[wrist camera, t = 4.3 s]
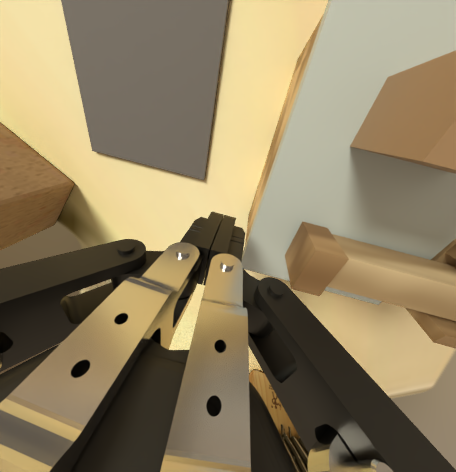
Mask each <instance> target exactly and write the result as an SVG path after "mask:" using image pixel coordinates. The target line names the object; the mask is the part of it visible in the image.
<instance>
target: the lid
mask: <svg viewBox="0 0 456 472" xmlns="http://www.w3.org/2000/svg"><path fill="white" fill-rule="evenodd" d="M302 221H303V222H307V223H311V224H314V225H318V226H322V227H326V228H328V229H329V231H330V232H331V234H334V235H338V236H342V237H346V238H350V239H353V240H357V241H361V242H365V243H369V244H372V245H376V246H380V247H384V248H387V249H391V250H395V251H399V252H403V253H406V254H410V255H414V256H418V257H422V258H425V259H429V260H431V259H432V258H433V257H435V256H436V255H437V254H438V253H439V252H440V251H442V250H443V249H444V248H445V247H446V246H447V245H449V244H450V243H451V242H452V241H453V240H454V239H456V0H328V3H327V6H326V9H325V12H324V15H323V18H322V21H321V24H320V27H319V30H318V33H317V35H316V38H315V41H314V44H313V47H312V50H311V53H310V56H309V59H308V62H307V65H306V68H305V71H304V74H303V77H302V80H301V83H300V86H299V89H298V91H297V94H296V97H295V100H294V103H293V106H292V109H291V112H290V115H289V118H288V121H287V124H286V127H285V130H284V133H283V136H282V139H281V142H280V145H279V148H278V150H277V153H276V156H275V159H274V162H273V165H272V168H271V171H270V174H269V177H268V180H267V183H266V186H265V189H264V192H263V195H262V198H261V201H260V204H259V206H258V209H257V212H256V215H255V218H254V221H253V224H252V227H251V230H250V233H249V236H248V239H247V242H246V245H245V248H244V251H243V254H242V265H243V269H246V270H250V271H254V272H257V273H261V274H265V275H269V276H272V277H276V278H280V279H284V280H287V281H290V279H289V274H288V269H287V264H286V259H285V254H286V252H287V250H288V248H289V246H290V244H291V242H292V240H293V238H294V236H295V235H296V233H297V231H298V229H299V227H300V225H301V223H302ZM325 291H328V292H332V293H336V294H340V295H343V296H347V297H351V298H354V299H358V300H362V301H366V302H369V303H373V304H377V305H379V304H380V303H381V302H382V301H379V300H375V299H371V298H368V297H364V296H360V295H356V294H353V293H349V292H345V291H342V290H338V289H334V288H330V287H326V288H325Z"/></svg>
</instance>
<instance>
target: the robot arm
mask: <svg viewBox="0 0 456 472" xmlns="http://www.w3.org/2000/svg"><path fill="white" fill-rule="evenodd" d="M235 220H236V218H234V217H230V216H226V215H224V217H223V214H219V213H215V212H211V214H210V216H209V217H208V219H207V218H203V217H200V218H198V219H196V220H195V221H194V223H193V224H192V226H191V227H190V228H189V230H188V231H187V233H186V234H185V236H184V237H183V238H182V240H181V241H180V242H179V243H175V244H172V245H170V246H169V247H168V248H167V249H166V250H165V251H146V247H145V245H144V244H143V243H142V242H140V241H138V240H133V239H124V240H119V241H115V242H111V243H107V244H102V245H98V246H94V247H90V248H86V249H82V250H77V251H73V252H69V253H65V254H61V255H57V256H53V257H48V258H44V259H40V260H36V261H32V262H28V263H23V264H20V265H15V266H11V267H6V268H3V269H0V372H1V371H3V370H5V369H7V368H9V367H11V366H13V365H15V364H17V363H19V362H21V361H23V360H26V359H28V358H30V357H32V356H34V355H36V354H38V353H40V352H42V351H44V350H46V349H48V348H50V347H52V346H54V345H56V344H58V343H60V342H62V341H63V342H62V343H61V344H59V345H57V346H55V347H53V348H51V349H49V350H47V351H45V352H43V353H41V354H39V355H37V356H35V357H33V358H31V359H30V360H28V361H26V362H24V363H22V364H20V365H18V366H16V367H14V368H12V369H10V370H8V371H6V372H4V373H2V374H0V472H298V471H297V469H296V467H295V465H294V463H293V461H292V459H291V457H290V455H289V452H288V450H287V448H286V446H285V444H284V442H283V440H282V438H281V436H280V433H279V431H278V429H277V427H276V425H275V423H274V421H273V419H272V417H271V414H270V412H269V410H268V408H267V406H266V404H265V402H264V401H263V399H262V397H261V396H260V394H259V392H258V391H257V390H256V388H255V387H254V386H253V384H252V383H251V382H250V381H249V355H248V345H249V347H250V349H251V350H252V352H253V354H254V356H255V357H256V359H257V361H258V363H259V365H260V366H261V368H262V370H263V372H264V374H265V375H266V377H267V379H268V381H269V383H270V384H271V386H272V388H273V390H274V392H275V393H276V395H277V397H278V399H279V401H280V402H281V404H282V406H283V408H284V410H285V411H286V413H287V415H288V417H289V419H290V420H291V422H292V424H293V426H294V427H295V429H296V431H297V433H298V435H299V436H300V438H301V440H302V442H303V444H304V445H305V447H306V449H307V451H308V453H309V456H308V472H456V470H455V469H454V468H453V467H452V466H451V464H450V463H449V462H448V461H447V460H446V459H445V458H444V457H443V456H442V455H441V453H440V452H439V451H437V449H436V448H435V447H434V446H433V445H432V444H431V443H430V441H429V440H428V439H427V438H426V437H425V436H424V435H423V434H422V433H421V432H420V431H419V430H418V428H417V427H416V426H415V425H414V424H413V423H412V422H411V421H410V420H409V419H408V418H407V416H406V415H405V414H404V413H403V412H402V411H401V410H400V409H399V408H398V407H397V405H395V403H394V402H393V401H392V400H391V399H390V398H389V397H388V396H387V395H386V393H385V392H384V391H383V390H382V389H381V388H380V387H379V386H378V385H377V384H376V383H375V381H374V380H373V379H372V378H371V377H370V376H369V375H368V374H367V373H366V372H365V371H364V369H363V368H362V367H361V366H360V365H359V364H358V363H357V362H356V361H355V360H354V358H353V357H352V356H351V355H350V354H349V353H348V352H347V351H346V350H345V349H344V348H343V346H342V345H341V344H340V343H339V342H338V341H337V340H336V339H335V338H334V337H333V336H332V334H331V333H330V332H329V331H328V330H327V329H326V328H325V327H324V326H323V325H322V324H321V322H320V321H319V320H318V319H317V318H316V317H315V316H314V315H313V314H312V313H311V312H310V310H309V309H308V308H307V307H306V306H305V305H304V304H303V303H302V302H301V301H300V300H299V298H298V297H297V296H296V295H295V294H294V293H293V292H292V291H291V290H290V289H289V288H288V286H287V285H286V284H284V283H283V282H281V281H280V280H278V279H275V278H270V277H268V278H264V279H262V280H261V281H259V280H257V279H255V278H254V277H252V276H250V275H249V274H248V273H247V272H246V271H245V270H244V269H243V265H242V254H243V246H244V238H245V232H244V230H243V229H242V228H240V227H236V226H234V224H235ZM204 278H205V279H204ZM108 279H111V281H112V283H109V284H106V285H104V286H101V287H98V288H96V289H93V290H90V291H88V292H85V293H82V294H79V295H77V296H72V297H68V296H66V295H68V294H70V293H72V292H75V291H78V290H81V289H83V288H86V287H89V286H92V285H95V284H97V283H100V282H103V281H106V280H108ZM203 281H204V284H203V285H205V289H204V293H203V297H202V300H201V304H200V309H199V313H198V317H197V321H196V325H195V329H194V334H193V338H192V342H191V346H190V350H169V347H170V344H171V341H172V338H173V335H174V333H175V331H176V328H177V326H178V324H179V322H180V320H181V318H182V316H183V314H184V312H185V310H186V308H187V306H188V304H189V302H190V300H191V298H192V296H193V292H194V290H195V288H196V285H197V283H198V284H201V285H202V283H203Z"/></svg>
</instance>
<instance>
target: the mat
mask: <svg viewBox="0 0 456 472" xmlns="http://www.w3.org/2000/svg"><path fill="white" fill-rule="evenodd" d="M61 1H62V6H63V11H64V16H65V21H66V25H67V30H68V35H69V40H70V45H71V50H72V55H73V59H74V64H75V69H76V74H77V79H78V84H79V88H80V93H81V98H82V103H83V108H84V113H85V117H86V122H87V127H88V132H89V137H90V142H91V147H92V151H95V152H99V153H103V154H107V155H110V156H114V157H118V158H122V159H126V160H129V161H133V162H137V163H141V164H145V165H148V166H152V167H156V168H160V169H164V170H167V171H171V172H175V173H179V174H183V175H186V176H190V177H194V178H198V179H202V180H204V179H205V174H206V167H207V160H208V152H209V145H210V138H211V130H212V123H213V116H214V108H215V101H216V94H217V86H218V79H219V72H220V64H221V57H222V50H223V42H224V35H225V28H226V21H227V13H228V6H229V0H61Z"/></svg>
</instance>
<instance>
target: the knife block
mask: <svg viewBox="0 0 456 472" xmlns="http://www.w3.org/2000/svg"><path fill="white" fill-rule="evenodd" d="M249 381H250V382H251V383H252V384H253V386H254V387H255V388H256V390H257V391H258V392H259V394H260V396H261V397H262V399H263V401H264V402H265V404H266V406H267V408H268V410H269V412H270V414H271V417H272V419H273V421H274V423H275V425H276V427H277V429H278V431H279V433H280V436H281V438H282V440H283V442H284V444H285V446H286V448H287V450H288V452H289V455H290V457H291V459H292V461H293V463H294V465H295V467H296V469H297V471H298V472H308V456H309V453H308V451H307V449H306V447H305V445H304V444H303V442H302V440H301V438H300V436H299V435H298V433H297V431H296V429H295V427H294V426H293V424H292V422H291V420H290V419H289V417H288V415H287V413H286V411H285V410H284V408H283V406H282V404H281V402H280V401H279V399H278V397H277V395H276V393H275V392H274V390H273V388H272V386H271V384H270V383H269V381H268V379H267V377H266V375H265V374H264V373H262V372H259V371H258V370H253V371H252V372H251V373H250V374H249Z"/></svg>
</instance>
